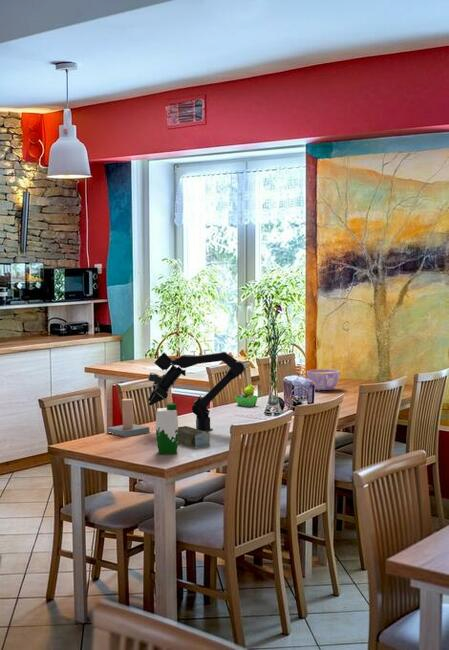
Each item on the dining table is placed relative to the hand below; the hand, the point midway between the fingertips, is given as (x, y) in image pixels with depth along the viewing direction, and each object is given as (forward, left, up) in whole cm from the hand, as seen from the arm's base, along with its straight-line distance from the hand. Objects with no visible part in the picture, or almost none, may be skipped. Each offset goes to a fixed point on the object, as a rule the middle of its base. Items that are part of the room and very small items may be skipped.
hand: (149, 402), depth 410 cm
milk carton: (-42, +24, -14) cm, 50 cm away
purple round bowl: (+24, -151, -14) cm, 154 cm away
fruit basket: (+19, -82, -14) cm, 85 cm away
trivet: (+5, +9, -13) cm, 17 cm away
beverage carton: (-36, +6, -14) cm, 39 cm away
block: (+5, +9, -11) cm, 15 cm away
